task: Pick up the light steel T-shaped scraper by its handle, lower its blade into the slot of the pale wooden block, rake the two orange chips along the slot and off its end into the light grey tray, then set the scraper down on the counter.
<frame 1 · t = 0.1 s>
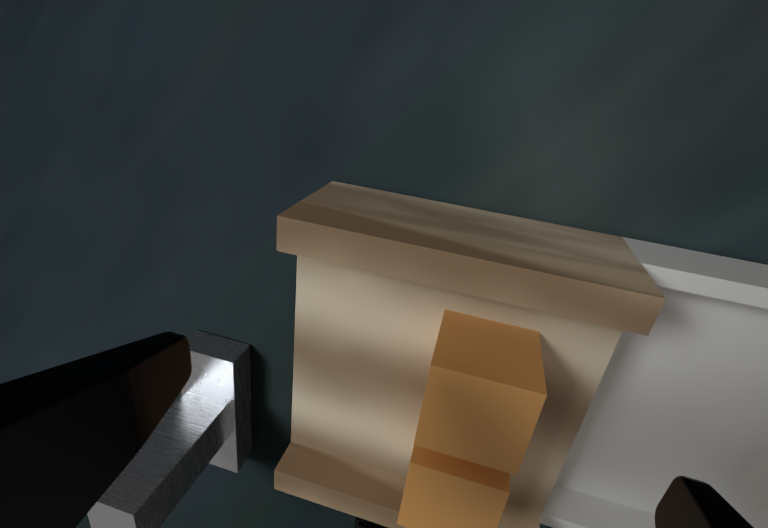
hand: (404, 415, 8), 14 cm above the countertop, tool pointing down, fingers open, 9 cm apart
chip b: (480, 357, 19), point 4 cm above the countertop, touching slot block
chip tray: (668, 399, 22), on the countertop
slot block: (439, 341, 24), on the countertop
chip a: (458, 437, 21), point 4 cm above the countertop, touching slot block
scraper: (226, 394, 31), on the countertop
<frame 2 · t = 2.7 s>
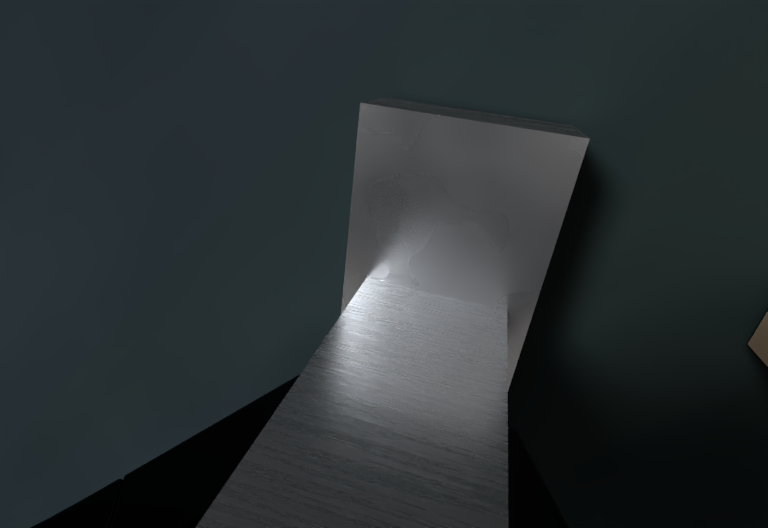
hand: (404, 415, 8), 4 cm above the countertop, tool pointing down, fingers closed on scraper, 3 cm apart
scraper: (436, 307, 11), on the countertop, touching gripper
when the fingers open (5 cm above the countertop, at t = 11.9 s): scraper stays where it is, on the countertop.
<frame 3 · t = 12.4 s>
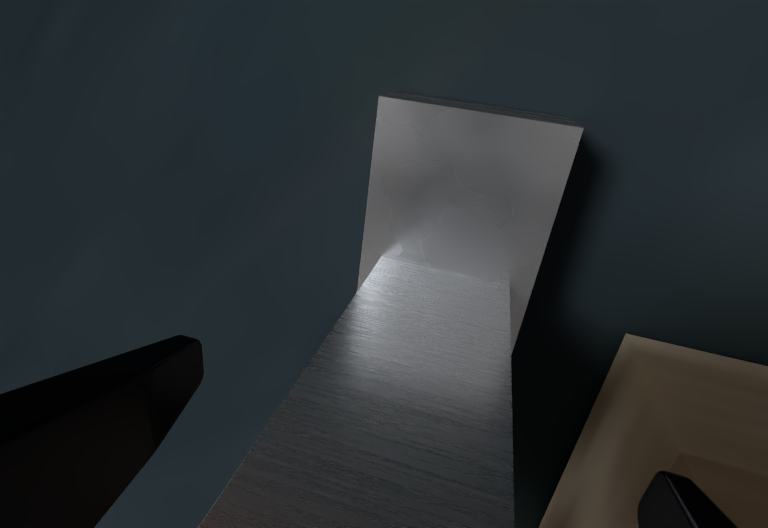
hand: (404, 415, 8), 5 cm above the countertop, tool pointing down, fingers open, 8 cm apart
scraper: (443, 287, 12), on the countertop
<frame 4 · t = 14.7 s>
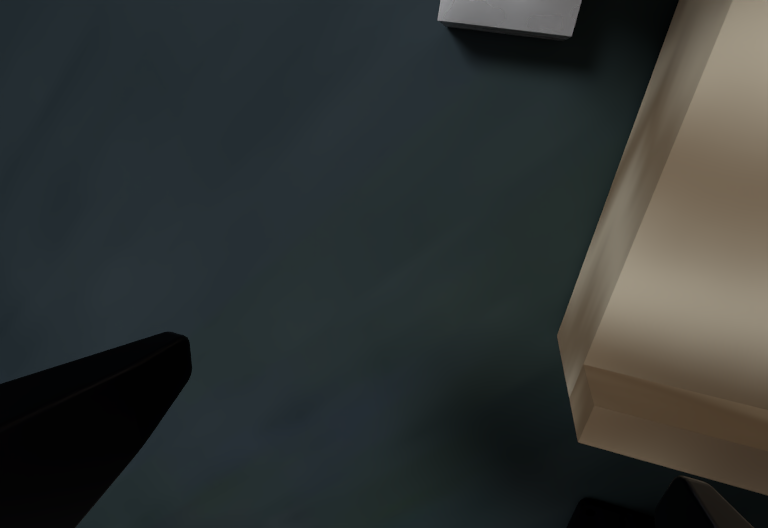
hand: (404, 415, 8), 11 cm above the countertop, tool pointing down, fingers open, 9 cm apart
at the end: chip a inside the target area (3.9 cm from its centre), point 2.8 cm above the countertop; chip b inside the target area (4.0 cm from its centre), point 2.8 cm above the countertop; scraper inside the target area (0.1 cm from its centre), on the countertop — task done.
